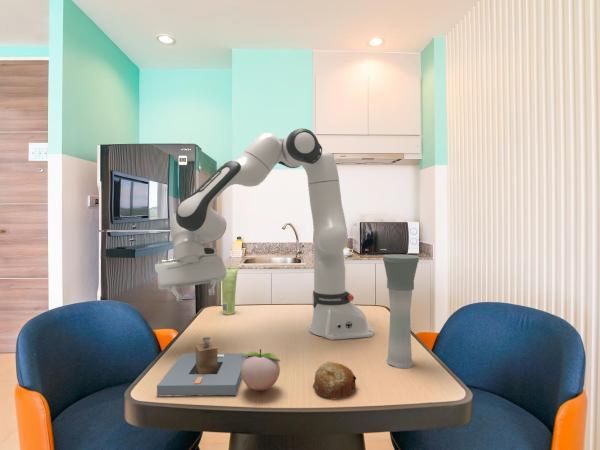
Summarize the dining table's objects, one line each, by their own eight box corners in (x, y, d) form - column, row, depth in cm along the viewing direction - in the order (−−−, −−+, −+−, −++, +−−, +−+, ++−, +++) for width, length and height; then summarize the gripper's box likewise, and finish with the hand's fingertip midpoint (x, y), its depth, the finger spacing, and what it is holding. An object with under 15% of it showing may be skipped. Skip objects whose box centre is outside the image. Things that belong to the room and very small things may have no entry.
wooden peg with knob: (213, 372, 91) (212, 333, 91) (217, 379, 88) (217, 338, 87) (196, 376, 89) (195, 336, 89) (200, 383, 85) (199, 341, 85)
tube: (232, 310, 149) (232, 265, 148) (238, 313, 145) (238, 267, 145) (220, 313, 146) (220, 267, 145) (226, 316, 142) (225, 268, 141)
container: (411, 355, 102) (412, 254, 101) (422, 370, 92) (423, 258, 91) (378, 355, 102) (379, 254, 101) (386, 370, 92) (387, 258, 91)
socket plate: (246, 362, 97) (246, 352, 97) (235, 395, 79) (235, 383, 79) (182, 362, 97) (182, 352, 97) (157, 396, 79) (156, 384, 79)
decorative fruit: (237, 401, 77) (237, 357, 77) (243, 383, 85) (243, 343, 85) (279, 401, 77) (279, 357, 77) (281, 383, 85) (281, 343, 85)
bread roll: (317, 393, 88) (304, 365, 87) (353, 374, 88) (340, 347, 88) (324, 415, 78) (309, 385, 77) (364, 394, 79) (350, 364, 78)
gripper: (153, 256, 103) (158, 299, 96) (222, 248, 111) (231, 287, 105) (154, 266, 108) (159, 308, 101) (219, 257, 116) (228, 295, 110)
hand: (196, 297), depth 103 cm, fingers open, 8 cm apart
